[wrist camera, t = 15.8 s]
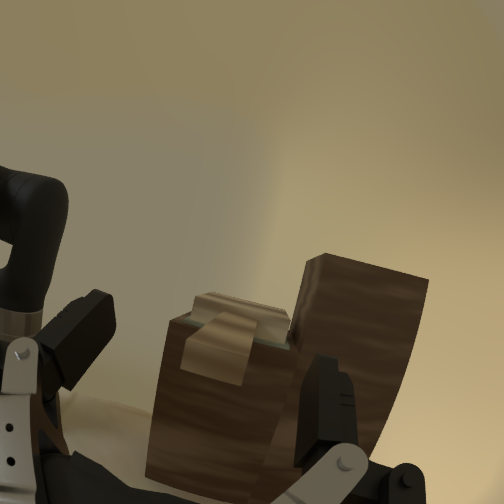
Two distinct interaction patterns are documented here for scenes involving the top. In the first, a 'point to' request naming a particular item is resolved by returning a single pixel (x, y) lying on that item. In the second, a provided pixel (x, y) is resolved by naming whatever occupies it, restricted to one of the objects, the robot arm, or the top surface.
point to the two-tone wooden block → (283, 383)
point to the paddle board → (229, 335)
